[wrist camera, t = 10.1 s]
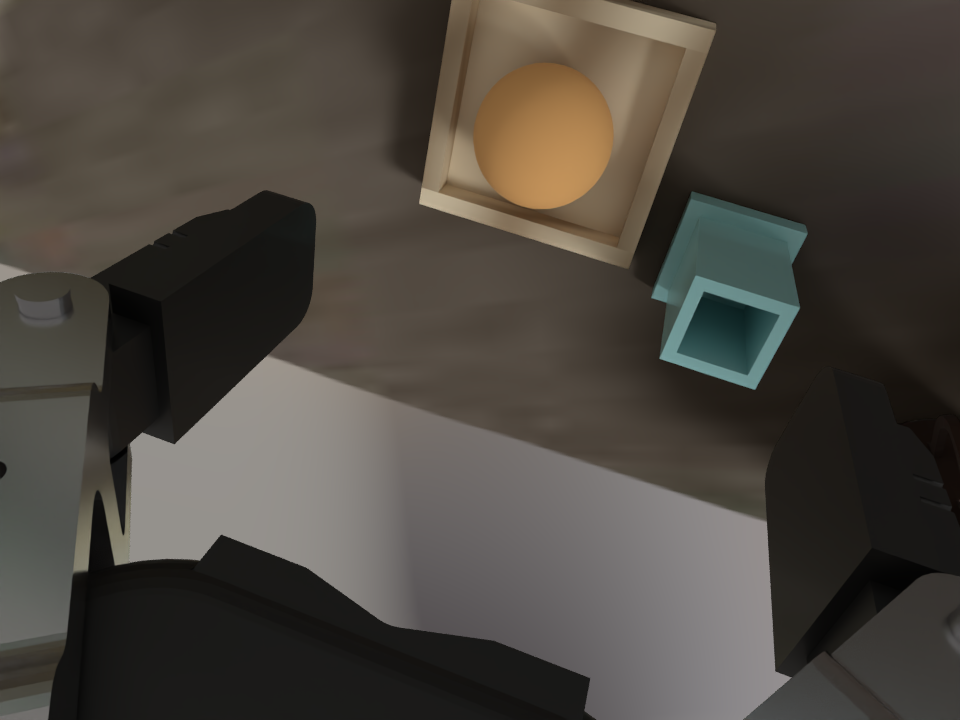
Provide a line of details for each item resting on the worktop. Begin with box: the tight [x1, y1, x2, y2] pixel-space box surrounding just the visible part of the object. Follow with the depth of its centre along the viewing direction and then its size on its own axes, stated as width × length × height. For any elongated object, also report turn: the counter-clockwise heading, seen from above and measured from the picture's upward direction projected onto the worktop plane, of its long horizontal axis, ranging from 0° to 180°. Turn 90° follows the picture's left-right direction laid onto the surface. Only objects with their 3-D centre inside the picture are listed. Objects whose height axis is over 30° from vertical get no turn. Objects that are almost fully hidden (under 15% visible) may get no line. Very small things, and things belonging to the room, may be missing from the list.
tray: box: [419, 0, 716, 269], centre depth 30 cm, size 10×10×2 cm
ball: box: [473, 63, 614, 209], centre depth 28 cm, size 6×6×6 cm
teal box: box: [651, 191, 808, 390], centre depth 29 cm, size 5×5×7 cm
